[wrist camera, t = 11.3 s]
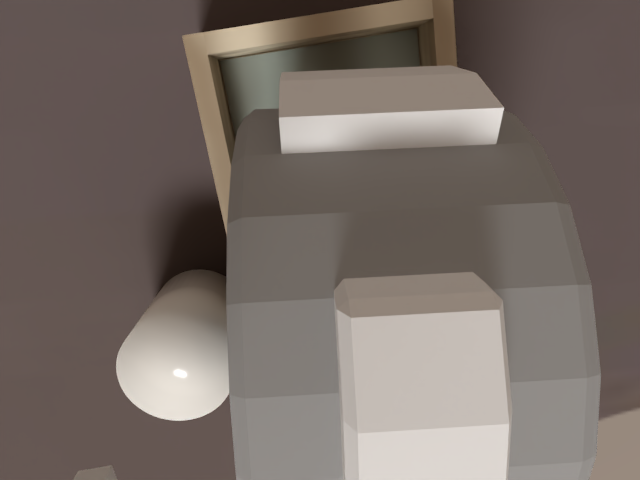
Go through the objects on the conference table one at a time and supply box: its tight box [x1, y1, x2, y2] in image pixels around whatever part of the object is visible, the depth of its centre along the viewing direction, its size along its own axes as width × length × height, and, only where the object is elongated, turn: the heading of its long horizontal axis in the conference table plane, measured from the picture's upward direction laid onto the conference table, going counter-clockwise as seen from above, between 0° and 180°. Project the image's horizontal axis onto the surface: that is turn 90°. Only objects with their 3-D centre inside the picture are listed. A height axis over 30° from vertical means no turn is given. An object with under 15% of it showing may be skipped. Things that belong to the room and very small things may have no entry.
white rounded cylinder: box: [116, 269, 229, 421], centre depth 28 cm, size 6×6×7 cm
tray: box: [182, 0, 457, 235], centre depth 28 cm, size 13×24×4 cm, turn 9°
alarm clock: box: [226, 65, 601, 480], centre depth 19 cm, size 18×8×20 cm, turn 2°
